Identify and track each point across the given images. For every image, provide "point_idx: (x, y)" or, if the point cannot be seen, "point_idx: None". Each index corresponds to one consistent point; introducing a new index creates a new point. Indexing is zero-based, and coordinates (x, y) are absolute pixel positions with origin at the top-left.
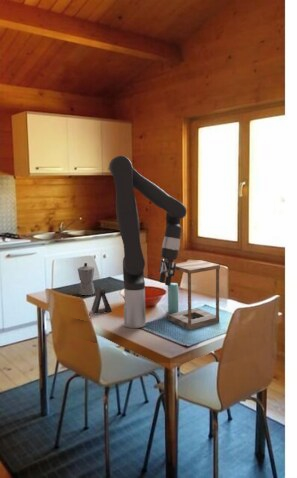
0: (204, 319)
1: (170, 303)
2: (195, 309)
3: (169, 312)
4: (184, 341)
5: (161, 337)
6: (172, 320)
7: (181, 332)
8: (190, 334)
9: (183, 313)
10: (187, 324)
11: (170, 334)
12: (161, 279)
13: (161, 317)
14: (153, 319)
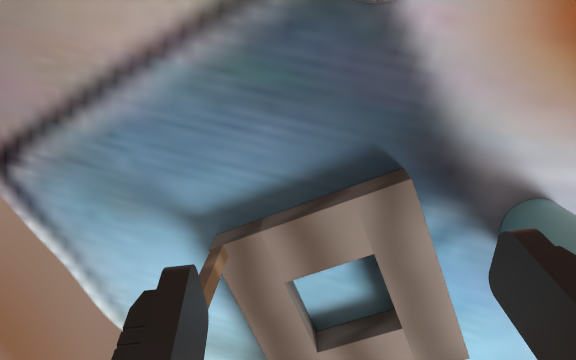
0: (269, 336)
1: (553, 237)
2: (444, 343)
3: (524, 203)
4: (65, 169)
5: (128, 62)
6: (364, 184)
7: (188, 186)
8: (155, 220)
9: (400, 267)
10: (229, 240)
11: (167, 123)
12: (531, 282)
13: (462, 136)
14: (444, 77)
